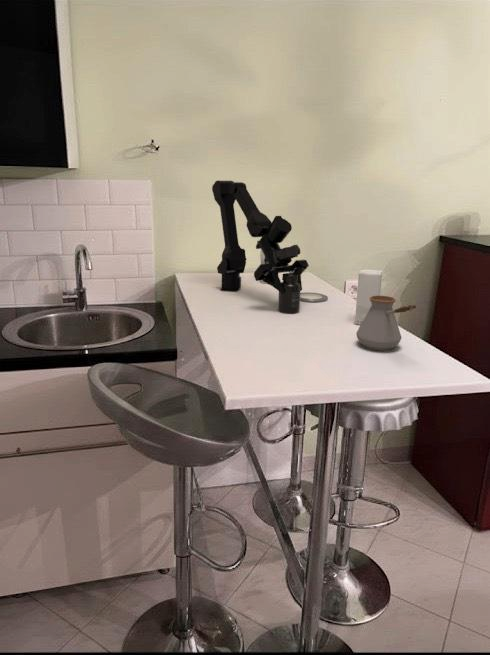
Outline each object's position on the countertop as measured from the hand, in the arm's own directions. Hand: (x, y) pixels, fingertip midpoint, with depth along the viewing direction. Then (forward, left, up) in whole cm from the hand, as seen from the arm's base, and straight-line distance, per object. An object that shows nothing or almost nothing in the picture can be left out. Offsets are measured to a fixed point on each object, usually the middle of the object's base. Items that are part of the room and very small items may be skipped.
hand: (292, 291), depth 162 cm
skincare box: (+23, -5, -7) cm, 25 cm away
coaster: (+5, +20, -7) cm, 22 cm away
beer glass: (-13, +41, -7) cm, 43 cm away
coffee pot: (+27, -31, -7) cm, 42 cm away
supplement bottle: (-1, +1, -7) cm, 7 cm away
